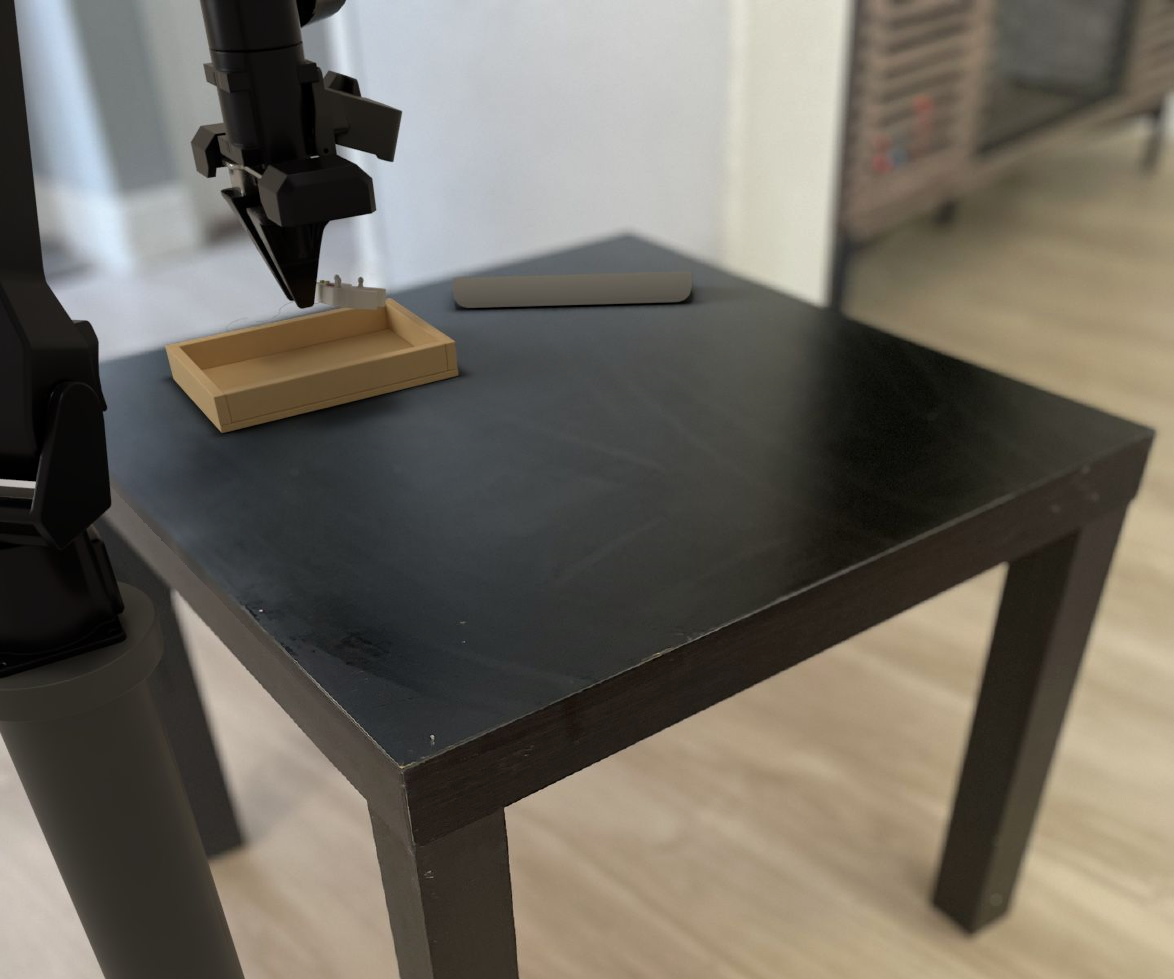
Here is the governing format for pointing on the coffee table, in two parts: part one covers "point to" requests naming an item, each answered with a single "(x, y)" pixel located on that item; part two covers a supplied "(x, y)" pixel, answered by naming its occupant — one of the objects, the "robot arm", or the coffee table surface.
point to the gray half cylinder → (572, 289)
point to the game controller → (347, 295)
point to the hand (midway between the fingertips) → (301, 303)
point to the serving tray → (309, 363)
